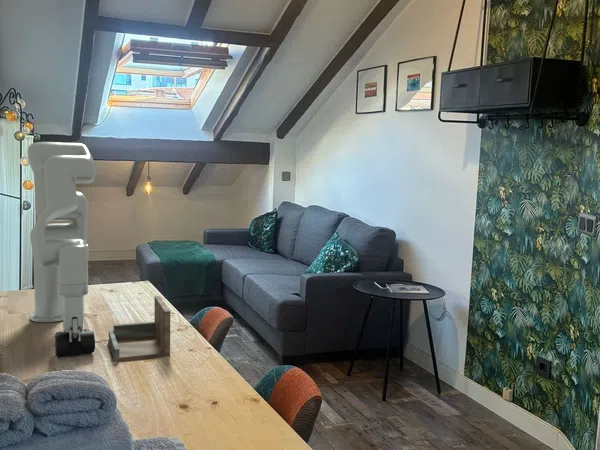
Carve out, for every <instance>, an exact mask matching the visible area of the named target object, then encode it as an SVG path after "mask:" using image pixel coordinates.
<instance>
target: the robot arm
mask: <svg viewBox="0 0 600 450" xmlns="http://www.w3.org/2000/svg"><path fill="white" fill-rule="evenodd" d="M27 159H28V164H29V167H30V169H31V170H32V173H33V177H34V185H35V186H34V192H35V193H34V194H35V195H34V199H35V203H34V209H35V213H36V217H37V220H36V222H35V224H34V227H33V228H32V229H31V231H30V235H29V236H30V237H29V239H30V244H31V250H32V256H33V257H32V259H33V278H34V279H33V283H34V286H33V287H34V289H33V290H34V292H33V293H34V311H33V312H32V313H31V314H30V315H29V319H30V320H31V321H32V322H35V323H56V322H61V321H62V327H63V332H65V333H66V331H67V332H68V333H69V337H70V341H69V356H72V357H77V356H78V355H80V356H82V355H81V341H80V331H82V330H84V328H83V327H84V312H85V311H84V305H85V304H84V302H85V299H84V298H85V297H84V296H86V295H89V265H88V264H89V262H88V261H89V258H90V257H89V256H90V248H89V244H88V216H89V215H88V214H89V213H88V209H89V208H88V207H89V206H88V200H87V197H86V196H85V194H84V193H82V192H80V191H77V184H81V185H82V184H86V185H87V184H88V185H89V184H91V183H93V182H94V181H95V178H96V175H97V173H96V164H95V161H94V157H93V156H92V154H91V152H90V150H89V149H88V146H86V145H85V144H83V143H81V142H60V141H37V142H33V143H31V144H30V145H29V146H28V147H27ZM56 221H60V222H61V221H72V222H70V223H69V222H68V223H67V222H65V223H62V222H61V223H51V222H56ZM72 333H73V334H72ZM78 357H79V356H78Z"/></svg>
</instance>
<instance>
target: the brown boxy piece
mask: <svg viewBox="0 0 600 450" xmlns="http://www.w3.org/2000/svg"><path fill="white" fill-rule="evenodd" d="M153 315H154V319H153V320H154V321H143V322H130V323H119V324H118V323H117V324H113V329H109V330H108V343H109V347H110V349H111V354H112V356H113V360H114V362H123V361H124V362H125V361H132V360H140V359H141V360H142V359H143V360H144V359H151V358H152V359H153V358H163V357H164V358H165V357H170V356H171V310H170V308H169V307H168V306H167V305H166V303H165V301H164V300H163V298H162V297H161V296H160V295H154V314H153Z"/></svg>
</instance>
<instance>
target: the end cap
mask: <svg viewBox="0 0 600 450" xmlns="http://www.w3.org/2000/svg"><path fill="white" fill-rule="evenodd" d="M72 334H73V333H72ZM54 339H55V341H54V347H55V352H54V353H55V357H56V358H57V359H60V358H61V359H63V358H64V359H65V358H70V357H73V356H69V341H70V337H69V333H68V331H66V333H65V332H64V331H57V332H55V336H54ZM80 341H81V355H78V357H79V356H87V355H92V354H93V353H94V352H95V349H96V339H95V333H94V330H89V329H88V328H83V330H82V331H80Z"/></svg>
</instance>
